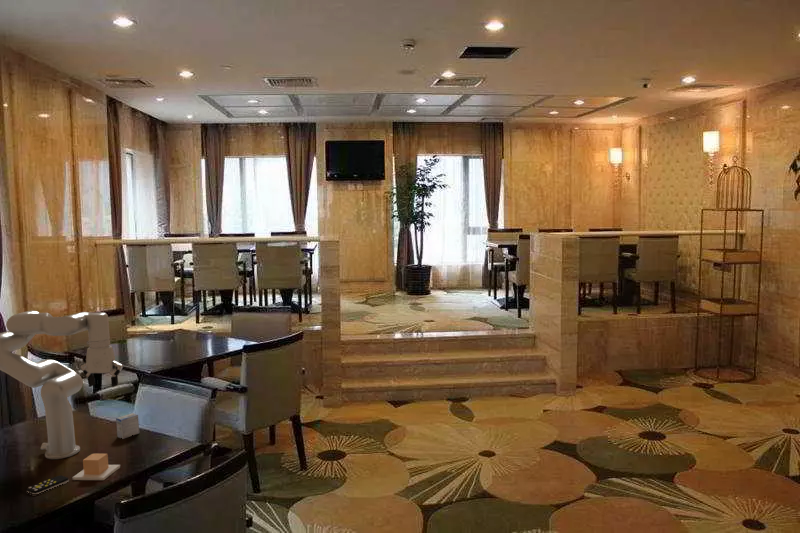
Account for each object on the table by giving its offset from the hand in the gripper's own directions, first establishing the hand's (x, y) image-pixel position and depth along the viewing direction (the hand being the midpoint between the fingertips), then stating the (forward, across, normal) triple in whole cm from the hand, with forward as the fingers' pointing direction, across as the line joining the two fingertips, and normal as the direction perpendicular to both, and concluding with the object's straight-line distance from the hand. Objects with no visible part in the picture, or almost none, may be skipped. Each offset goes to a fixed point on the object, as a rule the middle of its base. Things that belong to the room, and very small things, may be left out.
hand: (103, 385), depth 246 cm
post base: (+28, +6, -18) cm, 34 cm away
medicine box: (+29, -3, +20) cm, 35 cm away
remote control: (+29, -6, -29) cm, 42 cm away
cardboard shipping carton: (+27, +6, -18) cm, 33 cm away
